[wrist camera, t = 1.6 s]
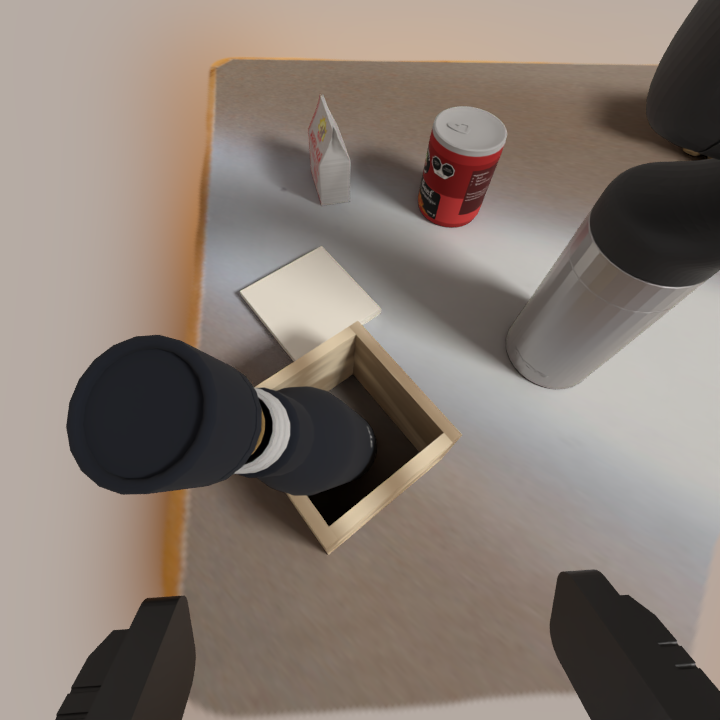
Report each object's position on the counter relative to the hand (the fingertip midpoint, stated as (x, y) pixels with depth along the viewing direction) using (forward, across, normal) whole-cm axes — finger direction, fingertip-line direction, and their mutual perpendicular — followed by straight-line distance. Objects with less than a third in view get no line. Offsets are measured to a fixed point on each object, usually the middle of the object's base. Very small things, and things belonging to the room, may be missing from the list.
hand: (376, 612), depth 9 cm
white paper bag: (+54, 0, -13) cm, 55 cm away
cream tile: (+40, +3, 0) cm, 40 cm away
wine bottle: (+28, 0, +12) cm, 30 cm away
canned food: (+51, -15, -10) cm, 54 cm away
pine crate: (+29, 0, +12) cm, 31 cm away
